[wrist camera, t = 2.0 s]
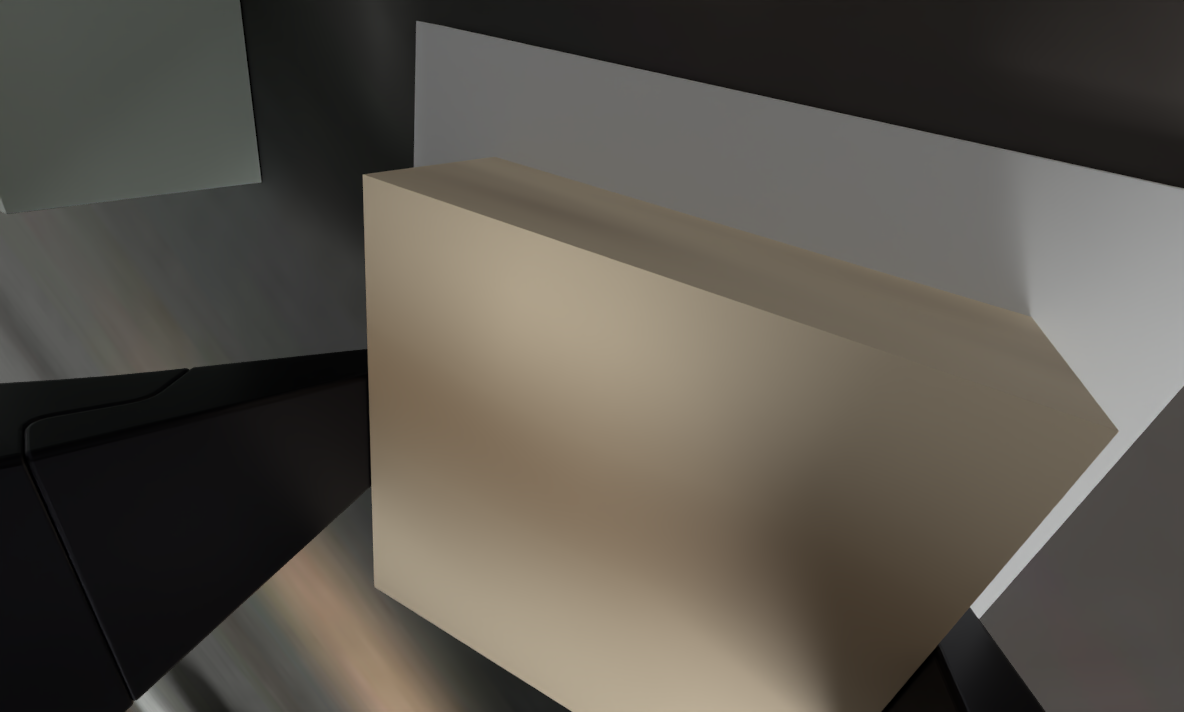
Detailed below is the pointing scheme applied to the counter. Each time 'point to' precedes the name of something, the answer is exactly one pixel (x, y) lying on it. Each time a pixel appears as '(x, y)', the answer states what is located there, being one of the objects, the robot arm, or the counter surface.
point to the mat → (848, 205)
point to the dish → (122, 101)
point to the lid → (689, 446)
